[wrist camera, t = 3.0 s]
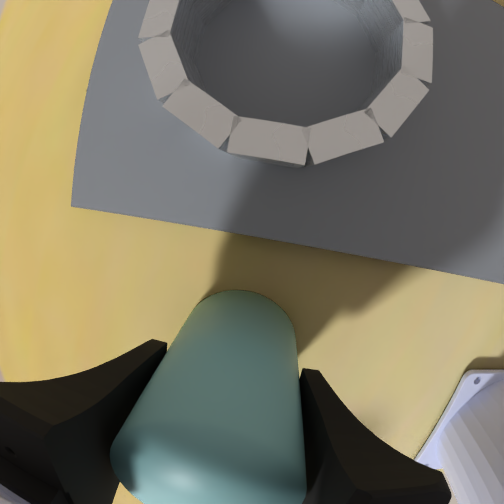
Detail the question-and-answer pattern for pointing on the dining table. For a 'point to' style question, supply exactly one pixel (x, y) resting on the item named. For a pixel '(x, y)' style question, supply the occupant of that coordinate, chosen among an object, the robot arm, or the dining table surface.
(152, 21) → the grey segmented ring
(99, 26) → the dining table surface
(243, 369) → the plug
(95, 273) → the dining table surface
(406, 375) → the dining table surface
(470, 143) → the board
